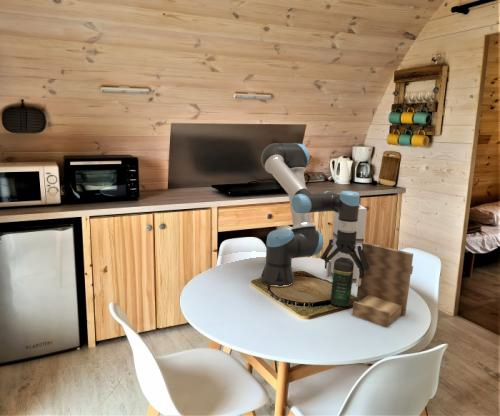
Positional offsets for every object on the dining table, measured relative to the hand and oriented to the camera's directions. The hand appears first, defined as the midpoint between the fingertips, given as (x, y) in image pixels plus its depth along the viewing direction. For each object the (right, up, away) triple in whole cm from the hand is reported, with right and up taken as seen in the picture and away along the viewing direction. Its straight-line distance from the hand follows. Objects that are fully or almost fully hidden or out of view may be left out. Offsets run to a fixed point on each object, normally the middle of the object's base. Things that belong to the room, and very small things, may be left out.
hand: (342, 281), depth 178 cm
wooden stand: (+11, -11, -5) cm, 17 cm away
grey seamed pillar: (+7, -4, +29) cm, 30 cm away
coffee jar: (-1, -9, +2) cm, 10 cm away
